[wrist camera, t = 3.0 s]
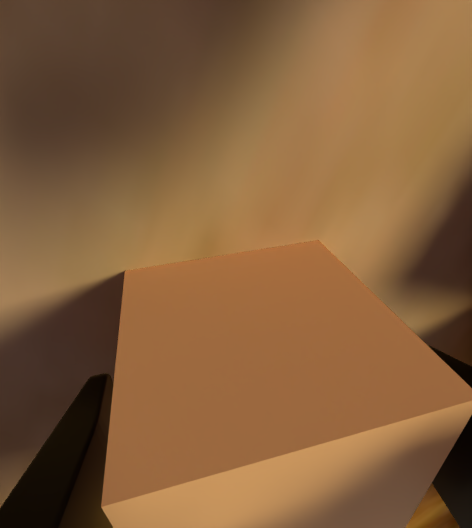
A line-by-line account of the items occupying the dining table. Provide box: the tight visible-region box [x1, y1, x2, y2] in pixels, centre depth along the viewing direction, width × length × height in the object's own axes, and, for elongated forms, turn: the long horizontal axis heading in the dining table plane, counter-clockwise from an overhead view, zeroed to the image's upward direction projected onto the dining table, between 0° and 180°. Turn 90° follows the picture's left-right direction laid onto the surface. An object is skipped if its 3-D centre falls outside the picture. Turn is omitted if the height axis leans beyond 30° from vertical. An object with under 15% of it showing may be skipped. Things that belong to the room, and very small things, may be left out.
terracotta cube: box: [101, 240, 472, 528], centre depth 7 cm, size 5×5×5 cm
